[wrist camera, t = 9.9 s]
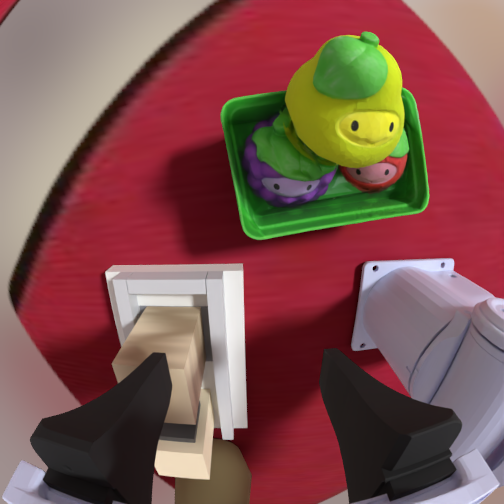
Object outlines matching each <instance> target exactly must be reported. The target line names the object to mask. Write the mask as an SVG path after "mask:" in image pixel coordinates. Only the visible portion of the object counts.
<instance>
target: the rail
mask: <svg viewBox="0 0 504 504" xmlns="http://www.w3.org/2000/svg"><path fill="white" fill-rule="evenodd" d="M105 274H106V279H107V285H108V290H109V295H110V300H111V305H112V310H113V314H114V319H115V323H116V327H117V331H118V335H119V339H120V343H121V347H122V346H123V344H124V342H125V341H126V339H127V337H128V336H129V334H130V332H131V331H132V329H133V328H134V326H135V324H136V323H137V321H138V320H139V318H140V316H141V315H142V313H143V312H144V310H145V309H146V307H147V306H156V307H201V314H202V324H203V333H204V342H205V350H206V362H205V368H204V374H203V380H202V387H201V393H200V399H199V406H198V413H197V419H196V425H192V424H177V423H165V422H164V424H163V428H162V431H161V434H160V438H159V441H158V446H157V451H156V458H155V465H154V466H155V468H156V470H157V472H158V474H159V475H163V476H171V477H181V478H192V479H208V480H210V468H211V455H212V442H213V430H214V428H221V431H222V438H223V440H234V428H248V427H247V397H246V366H245V331H244V291H243V264H192V265H113V266H112V267H111V268H109V269H108V270H107V271H106V272H105Z"/></svg>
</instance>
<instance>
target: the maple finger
mask: <svg viewBox="0 0 504 504" xmlns="http://www.w3.org/2000/svg"><path fill="white" fill-rule="evenodd" d="M153 352H159V353H166V357H167V362H168V367H169V372H170V376H171V381H172V385H173V386H172V393H171V399H170V404H169V408H168V411H167V415H166V418H165V421H164V422H165V423H177V424H192V425H196V419H197V413H198V406H199V399H200V393H201V387H202V380H203V374H204V368H205V362H206V350H205V342H204V333H203V324H202V314H201V307H156V306H147V307H146V309H145V310H144V312H143V313H142V315H141V316H140V318H139V320H138V321H137V323H136V324H135V326H134V328H133V329H132V331H131V332H130V334H129V336H128V337H127V339H126V341H125V342H124V344H123V346H122V347H121V349H120V351H119V352H118V354H117V356H116V357H115V359H114V361H113V362H112V367H113V370H114V373H115V376H116V378H117V381H118V383H119V382H121V381H122V380H123V379H124V378H126V377H127V376H128V375H129V374H130V373H131V372H132V371H134V370H135V369H136V368H137V367H138V366H139V365H140V364H141V363H142V362H143V361H144V360H145V359H146V358H147V357H148V356H149V355H151V354H152V353H153Z"/></svg>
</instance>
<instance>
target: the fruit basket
mask: <svg viewBox="0 0 504 504" xmlns="http://www.w3.org/2000/svg"><path fill="white" fill-rule="evenodd" d="M221 122H222V127H223V131H224V136H225V142H226V147H227V152H228V158H229V162H230V167H231V173H232V178H233V183H234V188H235V193H236V199H237V205H238V210H239V215H240V221H241V225H242V228H243V231H244V232H245V234H246V235H247V236H249V237H250V238H253V239H256V240H264V239H270V238H274V237H280V236H285V235H290V234H296V233H302V232H306V231H312V230H318V229H324V228H329V227H336V226H342V225H348V224H355V223H361V222H366V221H372V220H378V219H384V218H390V217H396V216H403V215H410V214H417V213H420V212H422V211H423V210H424V209H425V208H426V206H427V204H428V201H429V188H428V178H427V171H426V161H425V154H424V147H423V140H422V133H421V126H420V121H419V115H418V111H417V106H416V102H415V99H414V97H413V95H412V94H411V93H410V92H409V91H408V90H407V89H405V88H402V76H401V71H400V69H399V66H398V64H397V62H396V61H395V59H394V58H393V57H392V56H391V55H390V54H389V52H388V51H386V50H385V49H384V48H383V47H382V46H380V45H379V39H378V37H377V36H376V35H375V34H373V33H371V32H363V33H362V34H361V37H359V36H353V35H344V36H338V37H335V38H332V39H330V40H329V41H327V42H326V43H325V44H324V45H322V47H321V48H320V49H319V51H318V52H317V54H316V55H315V56H314V57H313V58H312V59H311V60H309V61H308V62H306V63H305V64H304V65H302V66H301V67H300V68H299V69H298V71H297V72H296V73H295V74H294V76H293V77H292V79H291V81H290V83H289V86H288V88H287V91H279V92H271V93H264V94H256V95H250V96H244V97H238V98H234V99H231V100H229V101H228V102H226V103H225V105H224V106H223V108H222V111H221Z"/></svg>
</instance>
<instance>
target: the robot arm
mask: <svg viewBox="0 0 504 504" xmlns="http://www.w3.org/2000/svg"><path fill="white" fill-rule="evenodd" d="M442 263H443V264H442ZM441 264H442V266H441ZM374 266H376V269H375V270H373V267H374ZM453 268H454V260H453V259H451V258H439V259H415V260H390V261H368V262H366V263H364V265H363V267H362V275H361V283H360V291H359V299H358V306H357V312H356V319H355V325H354V331H353V337H352V342H351V347H352V349H353V350H354V351H360V350H367V349H374V348H378V349H379V350H380V352H381V353H382V355H383V356H384V357H385V359H386V360H387V362H388V363H389V365H390V366H391V368H392V369H393V371H394V372H395V374H396V375H397V376H398V378H399V379H400V381H401V382H402V384H403V385H404V387H405V388H406V390H407V391H408V393H409V394H410V396H411V398H410V397H408V396H405V395H403V394H401V393H399V392H396V391H395V390H393V389H391V388H389V387H387V386H385V385H384V384H382V383H381V382H379V381H378V380H376V379H375V378H373V377H372V376H370V375H369V374H368V373H366V372H365V371H364V370H362V369H361V368H360V367H359V366H357V365H356V364H355V363H354V362H353V361H351V360H350V359H349V358H348V357H347V356H345V355H344V354H343V353H342V352H341V351H340V350H338V349H337V348H332V349H324V353H323V360H322V367H321V373H320V380H319V384H320V389H321V393H322V398H323V401H324V404H325V407H326V409H327V412H328V415H329V417H330V420H331V423H332V425H333V428H334V431H335V433H336V436H337V439H338V442H339V447H340V451H341V455H342V460H343V465H344V470H345V476H346V482H347V488H348V496H349V504H479V503H481V502H482V501H483V500H484V499H485V498H486V497H487V496H488V495H490V494H491V493H492V492H493V491H494V490H495V489H496V488H498V487H501V486H504V299H501V298H495V297H494V296H493V295H492V294H491V293H489V292H488V291H486V290H485V289H483V288H481V287H480V286H478V285H476V284H475V283H473V282H471V281H470V280H468V279H466V278H465V277H463V276H461V275H460V274H458V273H456V272H454V271H453ZM363 343H364V344H363ZM361 344H363V345H362V346H360V345H361ZM172 386H173V385H172V381H171V376H170V372H169V367H168V362H167V357H166V353H159V352H153V353H152V354H151V355H149V356H148V357H147V358H146V359H145V360H144V361H143V362H142V363H141V364H140V365H139V366H138V367H137V368H136V369H135V370H134V371H132V372H131V373H130V374H129V375H128V376H127V377H126V378H124V379H123V380H122V381H121V382H119V383H118V384H117V385H116V386H114V387H113V388H112V389H110V390H109V391H107V392H106V393H104V394H103V395H101V396H100V397H98V398H96V399H94V400H92V401H91V402H89V403H87V404H85V405H83V406H81V407H78V408H76V409H74V410H71V411H69V412H65V413H63V414H59V415H56V416H52V417H48V418H44V419H42V420H41V422H40V423H39V425H38V426H37V428H36V430H35V431H34V433H33V434H32V436H31V438H30V442H31V445H32V447H33V449H34V450H35V452H36V453H37V454H38V455H39V457H40V458H41V459H42V460H43V462H44V463H45V464H46V465H47V466H48V470H47V472H45V471H43V470H42V469H40V468H38V467H36V466H34V465H32V464H29V463H28V462H26V461H23V460H21V461H20V463H19V465H18V467H17V469H16V471H15V472H14V474H13V476H12V478H11V480H10V482H9V484H8V486H7V488H6V490H5V492H4V494H3V496H2V498H3V499H4V500H5V501H6V502H7V503H8V504H151V501H152V483H153V474H154V465H155V458H156V451H157V446H158V441H159V438H160V434H161V431H162V428H163V424H164V421H165V418H166V415H167V411H168V408H169V404H170V399H171V393H172Z"/></svg>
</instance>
